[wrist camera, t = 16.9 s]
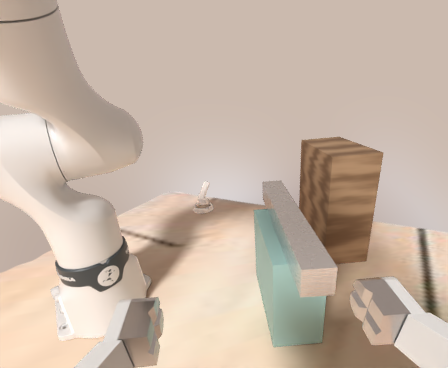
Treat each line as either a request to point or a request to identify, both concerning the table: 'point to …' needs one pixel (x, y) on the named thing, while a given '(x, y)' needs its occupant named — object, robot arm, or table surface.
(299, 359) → the table surface
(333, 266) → the rail
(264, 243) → the mint green rectangular block
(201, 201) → the hook
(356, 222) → the stand
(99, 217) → the robot arm
